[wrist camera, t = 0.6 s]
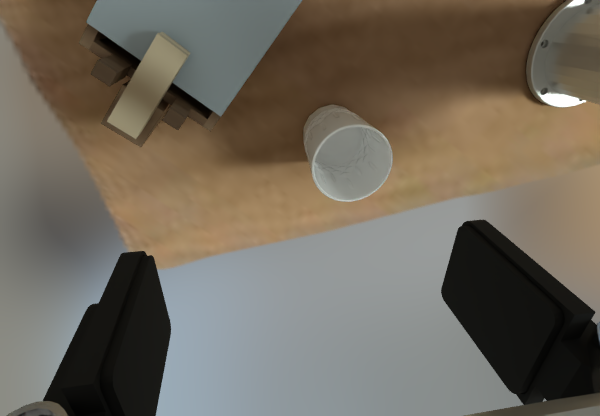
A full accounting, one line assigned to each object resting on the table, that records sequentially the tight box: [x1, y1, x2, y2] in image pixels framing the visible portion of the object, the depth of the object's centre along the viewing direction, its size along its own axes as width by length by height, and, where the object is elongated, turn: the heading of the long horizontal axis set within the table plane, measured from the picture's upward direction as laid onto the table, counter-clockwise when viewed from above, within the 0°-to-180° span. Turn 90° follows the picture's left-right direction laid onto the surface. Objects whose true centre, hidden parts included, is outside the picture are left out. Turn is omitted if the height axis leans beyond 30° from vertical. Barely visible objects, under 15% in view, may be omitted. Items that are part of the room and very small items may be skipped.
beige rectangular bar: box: [107, 32, 190, 139], centre depth 28 cm, size 8×2×2 cm, turn 141°
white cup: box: [303, 104, 393, 202], centre depth 37 cm, size 8×8×10 cm
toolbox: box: [79, 24, 221, 147], centre depth 30 cm, size 20×12×11 cm, turn 141°
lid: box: [86, 0, 302, 116], centre depth 25 cm, size 13×12×6 cm
